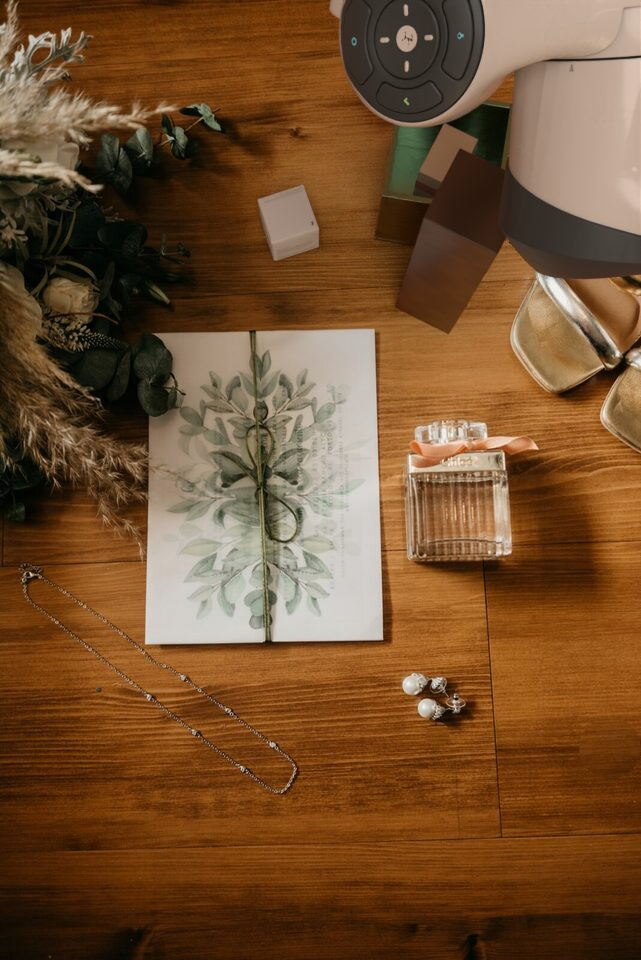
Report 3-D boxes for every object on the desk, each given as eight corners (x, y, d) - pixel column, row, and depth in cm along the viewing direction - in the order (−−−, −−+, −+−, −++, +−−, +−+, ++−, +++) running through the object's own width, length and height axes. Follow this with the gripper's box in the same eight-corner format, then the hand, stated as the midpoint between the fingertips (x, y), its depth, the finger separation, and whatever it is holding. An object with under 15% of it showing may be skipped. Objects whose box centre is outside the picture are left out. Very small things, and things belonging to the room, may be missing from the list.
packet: (462, 182, 84) (479, 139, 75) (439, 226, 84) (453, 188, 75) (430, 167, 84) (444, 121, 75) (407, 211, 84) (418, 171, 75)
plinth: (475, 282, 84) (534, 183, 61) (448, 334, 83) (497, 254, 60) (421, 255, 84) (460, 147, 61) (394, 307, 83) (423, 217, 61)
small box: (305, 203, 85) (304, 182, 80) (320, 248, 84) (320, 229, 79) (259, 218, 84) (255, 198, 79) (274, 263, 84) (271, 245, 79)
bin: (492, 158, 85) (516, 103, 75) (476, 256, 84) (499, 215, 73) (390, 141, 85) (400, 84, 75) (374, 239, 84) (381, 195, 74)
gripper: (654, 31, 41) (649, 14, 52) (338, -119, 42) (396, -105, 53) (592, 140, 45) (599, 104, 56) (305, 1, 46) (365, -8, 57)
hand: (498, 2), depth 54 cm, fingers open, 8 cm apart
